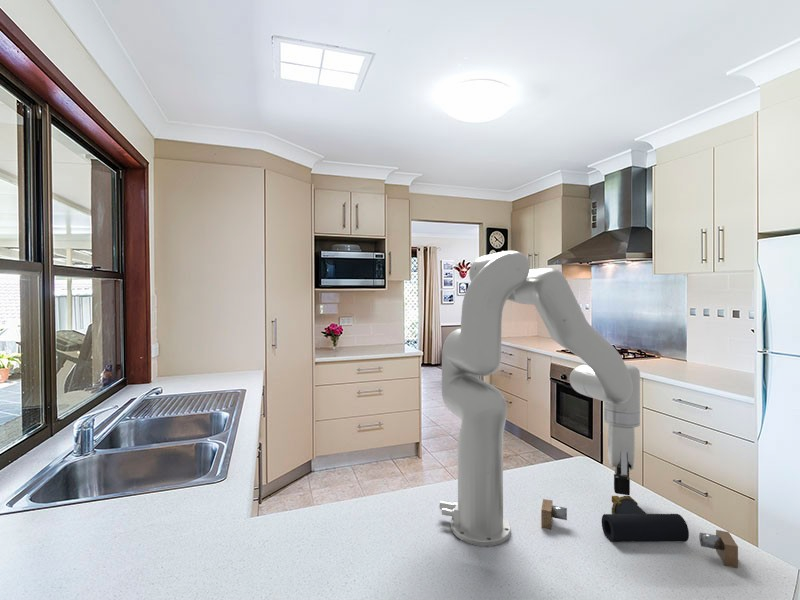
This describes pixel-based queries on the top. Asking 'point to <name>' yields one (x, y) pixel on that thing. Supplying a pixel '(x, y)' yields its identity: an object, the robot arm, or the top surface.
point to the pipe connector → (641, 524)
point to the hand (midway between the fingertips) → (621, 492)
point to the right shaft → (722, 546)
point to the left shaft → (551, 514)
